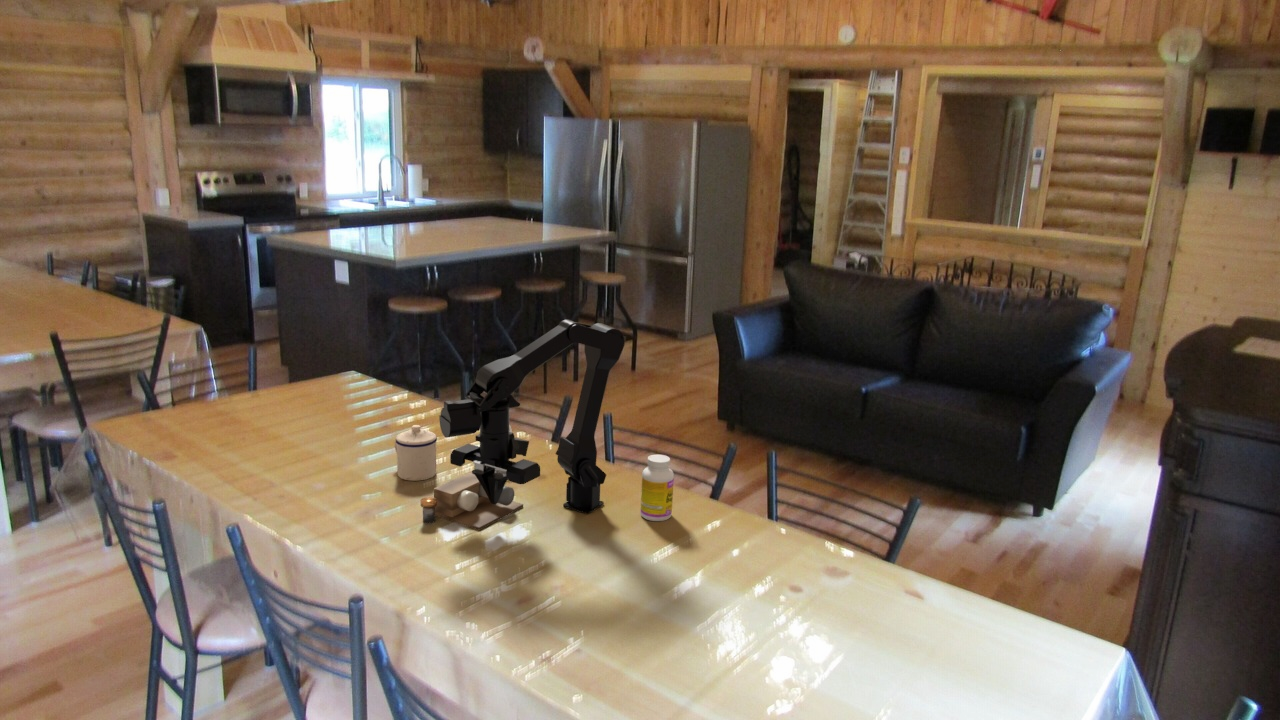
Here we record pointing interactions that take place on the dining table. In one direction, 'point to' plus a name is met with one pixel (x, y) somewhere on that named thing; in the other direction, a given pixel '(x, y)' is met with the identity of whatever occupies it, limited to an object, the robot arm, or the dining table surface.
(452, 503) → the walnut mount
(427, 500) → the copper domed knob
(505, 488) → the graphite knob
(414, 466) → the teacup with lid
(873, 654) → the dining table surface
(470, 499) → the cream knob
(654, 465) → the supplement bottle
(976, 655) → the dining table surface
